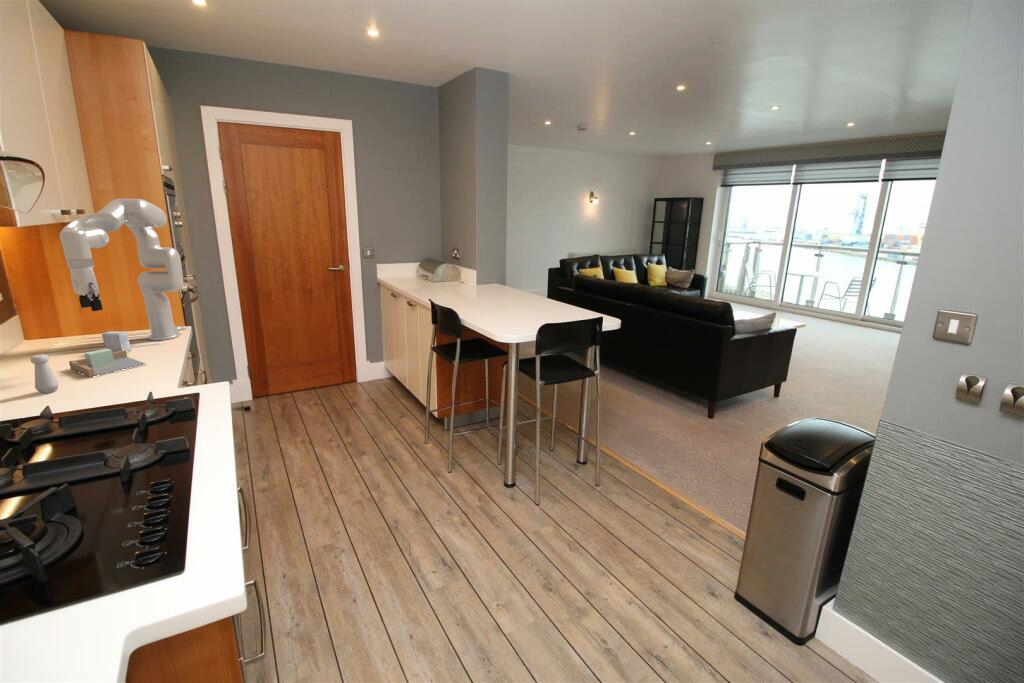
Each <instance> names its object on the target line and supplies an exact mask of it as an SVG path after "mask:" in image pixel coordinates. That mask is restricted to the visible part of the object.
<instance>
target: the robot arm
mask: <svg viewBox="0 0 1024 683" xmlns="http://www.w3.org/2000/svg"><path fill="white" fill-rule="evenodd" d="M167 219H168V217H167V215H166V212H164V210H163V209H162V208H160V207H158V206H157V205H155V204H153V203H151V202H149V201H147V200H145V199H142V198H115V199H113V200H111V201H110V202H108V203H107V204H106V205H105V206H104V207H102V208H101V209H100V210H99V211H97V212H95V213H92V214H89V215H85V216H82V217H79V218H77V219H74V220H72V221H70V222H69V223H68V224H67V225H65V226H64V227H63V228H62V229H61V231H60V232H59V239H60V242H61V246H62V250H63V253H64V258H65V261H66V265H67V268H68V269H69V272H70V278H71V280H70V281H71V283H72V289H73V292H74V293H75V294H77V297H78V300H79V303H80V308H82V309H85V308H90V309H91V312H97V311H102V310H104V309H103V305H102V301H101V296H100V294H99V293H100V289H99V285H98V280H97V277H96V275H95V274H96V273H95V272H94V269H93V268H95V263H94V258H93V254H92V251H91V249H98V248H99V249H100V248H104V247H105V246H107V245H108V244H109V241H110V236H109V235H108V233H110V232H115V231H117V230H119V229H120V228H121V227H122V226H123V225H125V226H126V227H127V228H128V229H129V230H131V232H132V233H133V235H134V236H135V237H134V238H135V240H136V241H135V242H136V247H137V254H138V261H139V263H140V265H141V266H142V267H143V268H145V269H146V268H147V269H166V270H162V271H161V270H148V271H143V272H141V273H140V274H139V275H138V276H137V284H138V286H139V289H140V291H141V293H142V294H141V295H142V296H143V301H144V304H145V310H146V314H147V320H148V321H147V322H148V324H149V325H148V326H149V331H150V335H148V336H147V339H148V340H149V341H166V340H172V339H175V338H176V339H177V338H178V337H180V336H181V335H180V332H181V331H186V330H187V326H185V325H183V326H176V325H175V322H174V318H173V313H172V307H171V302H170V299H169V297H168V295H166V293H167V292H168V293H170V292H179V291H181V290H182V289H183V287H184V275H183V268H182V267H183V266H182V260H181V256H180V253H179V252H178V250H177V249H176V248H173V247H169V246H164V247H163V246H161V244H160V237H159V235H158V233H157V232H156V231H155V230H154V228H163V227H164V226H165V225H166V224H167V221H168V220H167Z"/></svg>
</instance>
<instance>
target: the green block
mask: <svg viewBox="0 0 1024 683" xmlns="http://www.w3.org/2000/svg"><path fill="white" fill-rule="evenodd" d="M84 355H85V358H86V360H87V364H88V367H91V368H93V369H99V368H103V367H108V366H112V365H115V362H114V358H113V353H112V350H110V349H105V348H103V349H96V350H92V351H88V352H84Z"/></svg>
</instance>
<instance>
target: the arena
mask: <svg viewBox="0 0 1024 683" xmlns="http://www.w3.org/2000/svg"><path fill="white" fill-rule="evenodd" d="M113 358H114V362H115V365H112V366H108V367H103V368H99V369H93V368H91V367H88V364H87V360H86V357H84V358H79V359H74V360H70V361H68V364H69V367H70V368H69V369H70V370H71V369H73V370H75V371H77V372H76V373H78V372H80V373H82V374H84V375H86V376H88V377H87V378H89V377H92V378H94V377H93V376H97V375H101V376H103V375H102V374H105V375H107V374H106V373H110V372H114V371H118V370H122V369H127V368H130V367H135V366H139V365H143V364H146V365H147V363H145V362H142V361H140V360H137V359H135V358H131V357H129V356H128V352H126V351H125V350H123V351H118V352H113ZM135 368H136V367H135ZM73 370H72V371H73ZM127 370H128V369H127ZM75 371H74V372H75ZM118 372H119V371H118ZM80 373H79V374H80ZM114 373H115V372H114ZM82 374H81V375H82ZM110 374H111V373H110ZM84 375H83V376H84ZM86 376H85V377H86ZM97 377H98V376H97Z"/></svg>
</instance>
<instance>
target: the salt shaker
mask: <svg viewBox="0 0 1024 683" xmlns="http://www.w3.org/2000/svg"><path fill="white" fill-rule="evenodd" d="M48 361H49V356H48V355H47V354H43V353H42V354H36V355H32V356H31V357H30V362H31V364H32V365H33V364H34V388H35V390H36V391H38V393H39V394H40V395H48V394H52V393H55V392H56V391H58V388H59V381H58V379H57V377H56V376H55V373H54V372H53V371H52V369H51V366H50V365H49V363H48Z"/></svg>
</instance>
